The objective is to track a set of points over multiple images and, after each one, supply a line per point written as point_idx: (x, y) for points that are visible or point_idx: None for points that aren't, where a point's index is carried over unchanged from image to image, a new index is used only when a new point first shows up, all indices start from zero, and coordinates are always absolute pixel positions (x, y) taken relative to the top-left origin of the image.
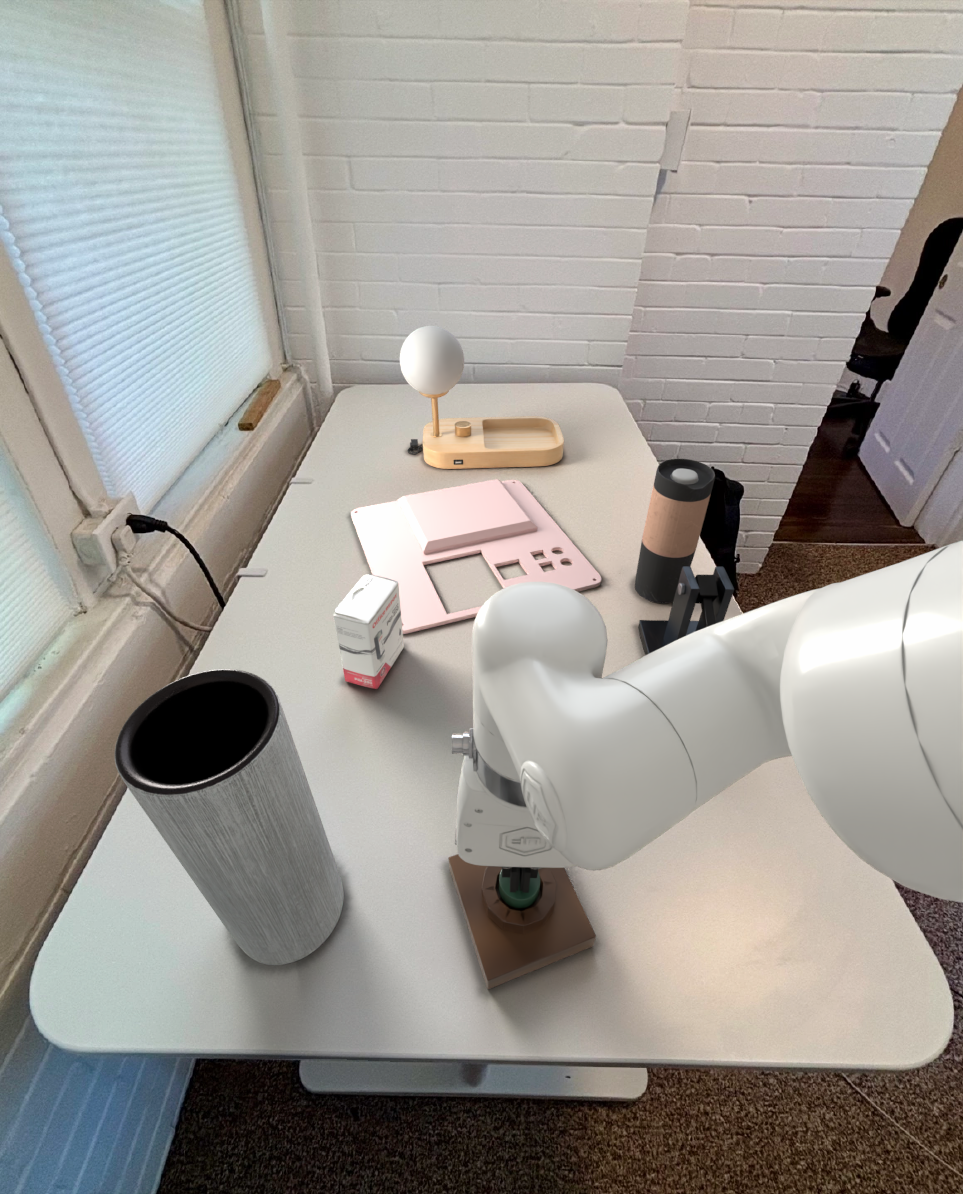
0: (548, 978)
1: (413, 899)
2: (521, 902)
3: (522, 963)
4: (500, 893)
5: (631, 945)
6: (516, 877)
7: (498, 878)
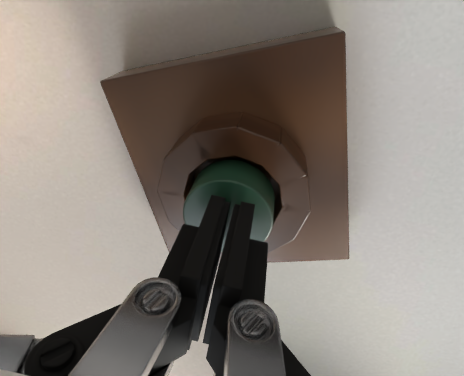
0: (211, 28)
1: (421, 202)
2: (233, 174)
3: (257, 55)
4: (273, 195)
5: (57, 60)
6: (230, 258)
7: None
